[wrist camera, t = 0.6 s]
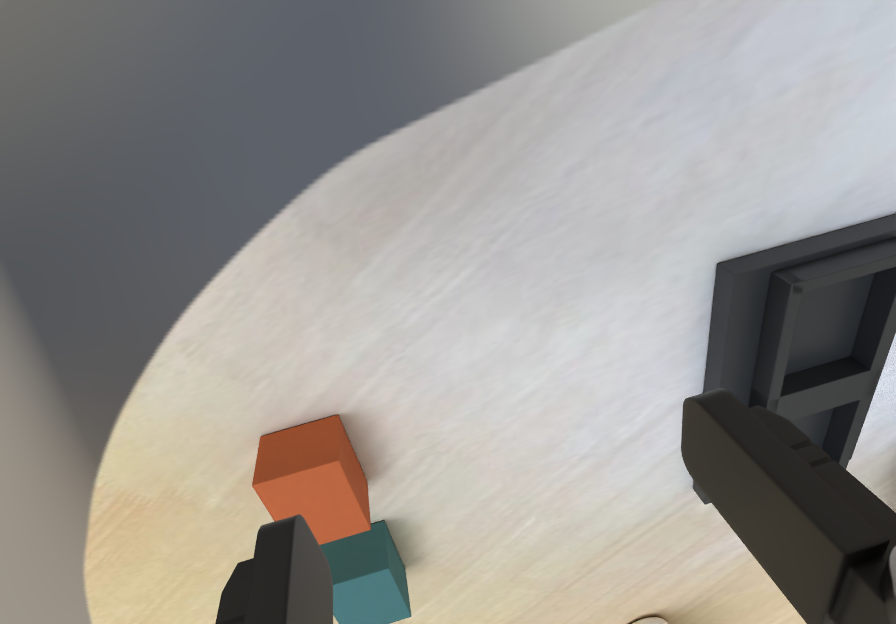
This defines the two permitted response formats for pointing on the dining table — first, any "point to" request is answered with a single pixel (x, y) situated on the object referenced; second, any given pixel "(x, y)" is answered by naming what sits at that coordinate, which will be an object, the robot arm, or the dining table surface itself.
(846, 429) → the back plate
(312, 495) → the orange block
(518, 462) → the dining table surface
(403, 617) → the teal rectangular block
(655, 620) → the drinking glass
